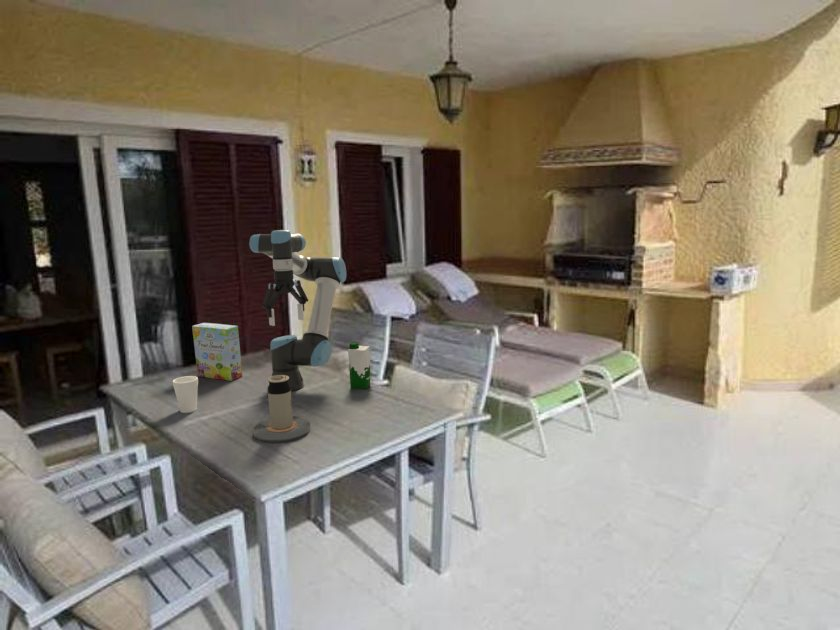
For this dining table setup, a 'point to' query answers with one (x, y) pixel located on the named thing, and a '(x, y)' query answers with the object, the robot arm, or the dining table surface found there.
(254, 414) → the dining table surface
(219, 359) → the snack box
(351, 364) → the soya milk
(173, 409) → the dining table surface
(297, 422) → the grey flat disc
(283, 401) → the travel mug
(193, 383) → the foam cup
